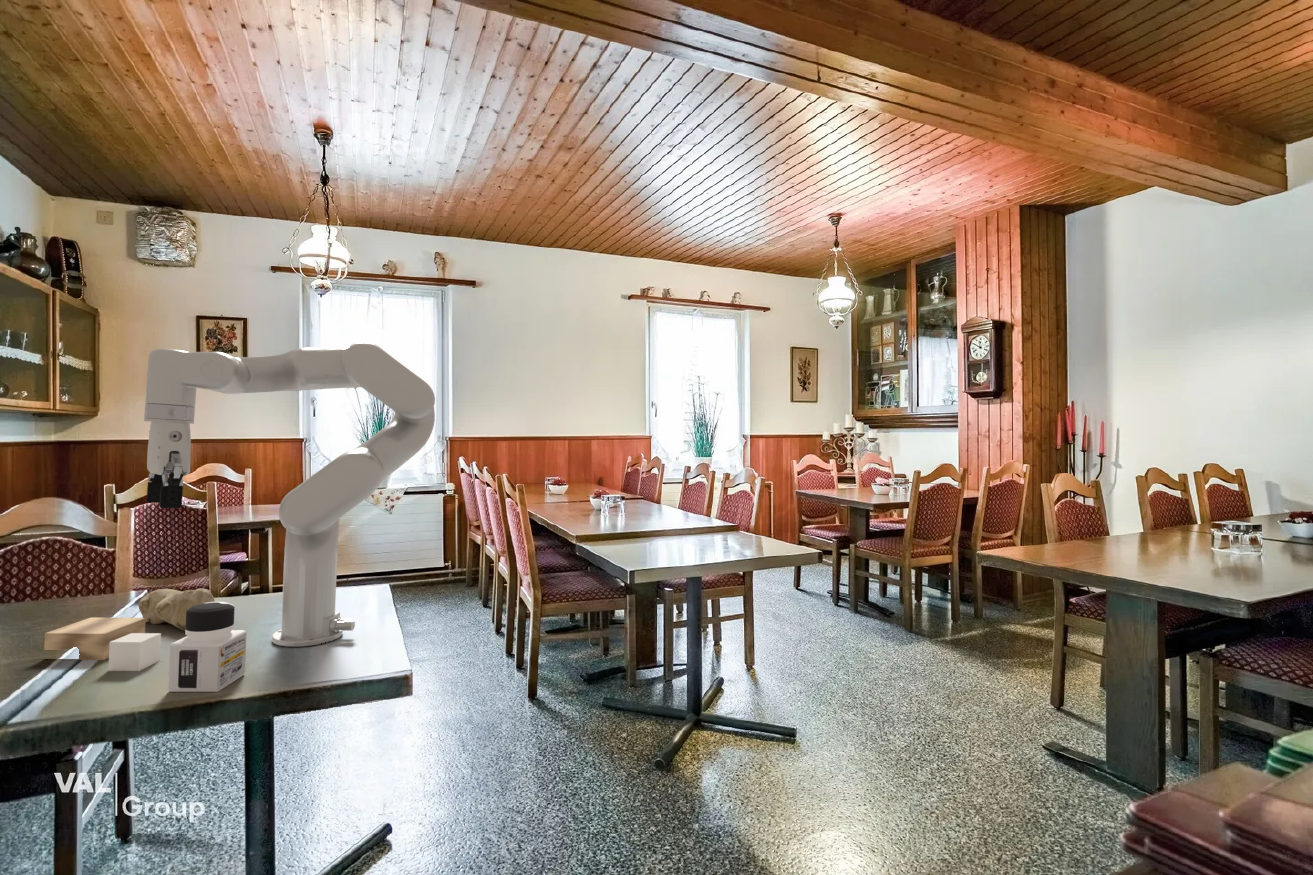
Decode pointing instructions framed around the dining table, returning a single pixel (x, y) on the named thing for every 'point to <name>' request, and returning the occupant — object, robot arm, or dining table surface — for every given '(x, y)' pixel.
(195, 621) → the container
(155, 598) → the sculpture
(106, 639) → the oak block
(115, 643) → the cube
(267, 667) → the dining table surface
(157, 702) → the dining table surface
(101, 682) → the dining table surface
